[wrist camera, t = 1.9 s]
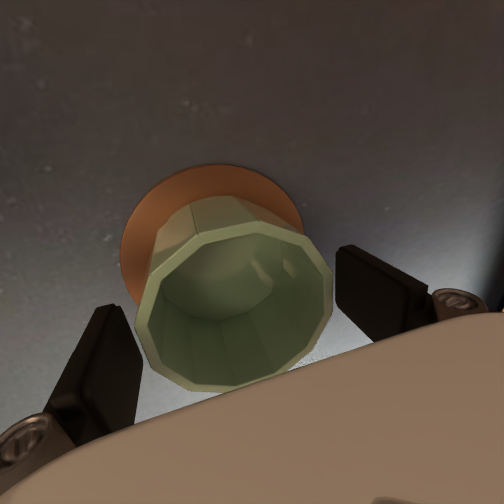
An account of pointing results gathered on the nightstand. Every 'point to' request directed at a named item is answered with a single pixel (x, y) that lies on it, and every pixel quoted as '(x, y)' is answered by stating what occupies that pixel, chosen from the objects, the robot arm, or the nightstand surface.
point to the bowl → (230, 296)
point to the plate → (187, 191)
